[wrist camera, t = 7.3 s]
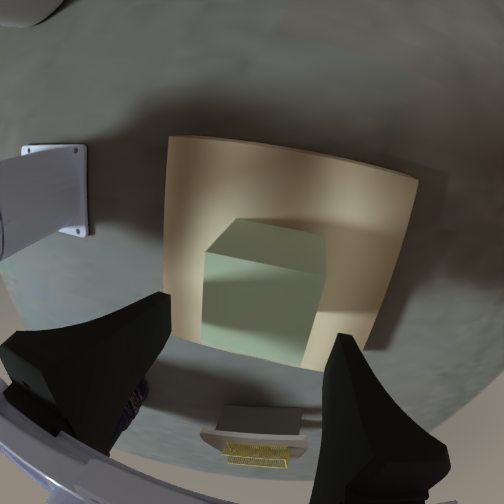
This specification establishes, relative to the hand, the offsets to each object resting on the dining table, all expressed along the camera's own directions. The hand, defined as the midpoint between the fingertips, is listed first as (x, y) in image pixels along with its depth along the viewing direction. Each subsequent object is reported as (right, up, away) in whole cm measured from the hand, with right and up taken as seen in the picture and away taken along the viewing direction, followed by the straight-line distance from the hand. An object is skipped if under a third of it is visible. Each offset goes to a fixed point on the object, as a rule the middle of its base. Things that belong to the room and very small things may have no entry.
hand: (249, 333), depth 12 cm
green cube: (+1, +3, +5) cm, 6 cm away
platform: (+1, -12, +16) cm, 20 cm away
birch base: (+2, +3, +8) cm, 9 cm away
